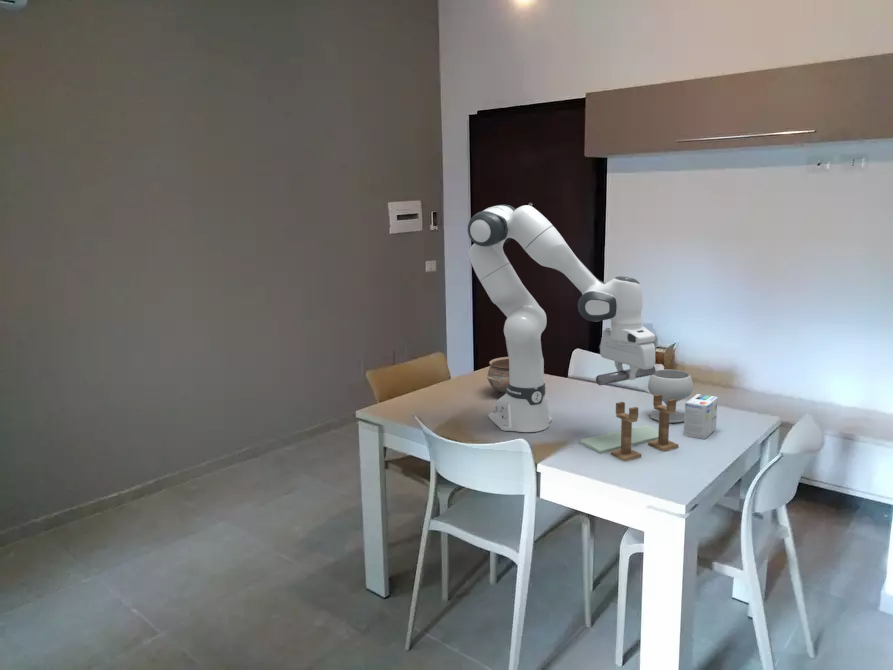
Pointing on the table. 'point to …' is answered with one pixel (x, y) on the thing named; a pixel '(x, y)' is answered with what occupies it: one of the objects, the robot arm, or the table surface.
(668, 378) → the chalice
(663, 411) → the hook stands
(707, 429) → the light bulb box
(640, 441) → the mat
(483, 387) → the table surface
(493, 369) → the cooking pot
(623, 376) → the rail
